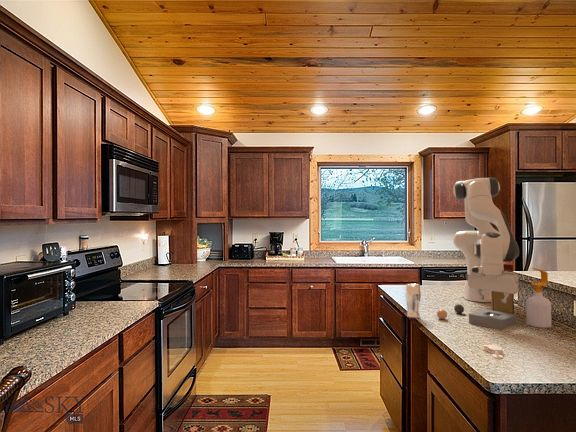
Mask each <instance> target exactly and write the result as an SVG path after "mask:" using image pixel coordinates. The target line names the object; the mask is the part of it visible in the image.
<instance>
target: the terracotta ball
mask: <svg viewBox="0 0 576 432" xmlns="http://www.w3.org/2000/svg"><path fill="white" fill-rule="evenodd" d="M436 316H437V318H438V319H440V320H446V319H447V317H448V313H447V311H446V310H445V309H442V308H441V309H438V310H437V312H436Z"/></svg>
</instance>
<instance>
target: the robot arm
mask: <svg viewBox="0 0 576 432" xmlns="http://www.w3.org/2000/svg"><path fill="white" fill-rule="evenodd" d="M452 189H453V190H452V191H453V192H452V193H453V196H454V197H455V199H456V200H458V201H464V217H465V221H466V223H467V224H468V225H470V226H471V227H474V228H476V230H461V231H457V232H456V233H455V234H454V236H453V238H452V239H453V244H454V246H455V248H457V249H458V250H460V251H461V252H462V254H463V255H464V258H465V260H466V267H467V268H466V270H467V273H466V282H465V283H464V288H463V294H462V295H461V298H462V299H465V300H467V301H471V302H476V303H477V302H480V303H491V291H495V292H502V293H504V295H505V297H504V298H502V299H501V303H506V302H507V298H508V296H509V294H514V295H516V294H518V293H519V275H518V273H516V272H514V271H513V272H508V271H504V263H503V262H513V261H515V260H516V259H517V258H518V257H519V256H520V247H519V245H518V242H517V241H516V239H515V237H514V235H513V232H512V230H511V227H510V225H509V223H508V219H507V217H506V216H505V214H504V212H503V210H502V209H500V208H498V207H497V206H496V205H495V204H494V202H493V198H495V197H496V196H498V195H499V193H500V190H501V185H500V182H499V181H498V179H497V177H475V178H472V179H466V180H458V181H456V182H455V183H454V186H453V187H452ZM491 224H493V225H495V226H496V227H497V229H495V228H494V227H493V225H491Z"/></svg>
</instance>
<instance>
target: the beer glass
mask: <svg viewBox="0 0 576 432" xmlns="http://www.w3.org/2000/svg"><path fill="white" fill-rule="evenodd" d="M421 290H422V288H421V284H418V283H406V284H405V302H406V307H407V311H406V317H408V318H410V319H421V315H420V314H421V313H420V306H421V299H422V291H421Z"/></svg>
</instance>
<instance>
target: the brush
mask: <svg viewBox="0 0 576 432" xmlns="http://www.w3.org/2000/svg"><path fill="white" fill-rule="evenodd" d="M482 351H483V352H488V353H489V354H491V357H492V358H493V359H496V360H501V359H503V358H504V356H503V354H504V352H503V348H502V347H501V346H497V344H483V347H482Z"/></svg>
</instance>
